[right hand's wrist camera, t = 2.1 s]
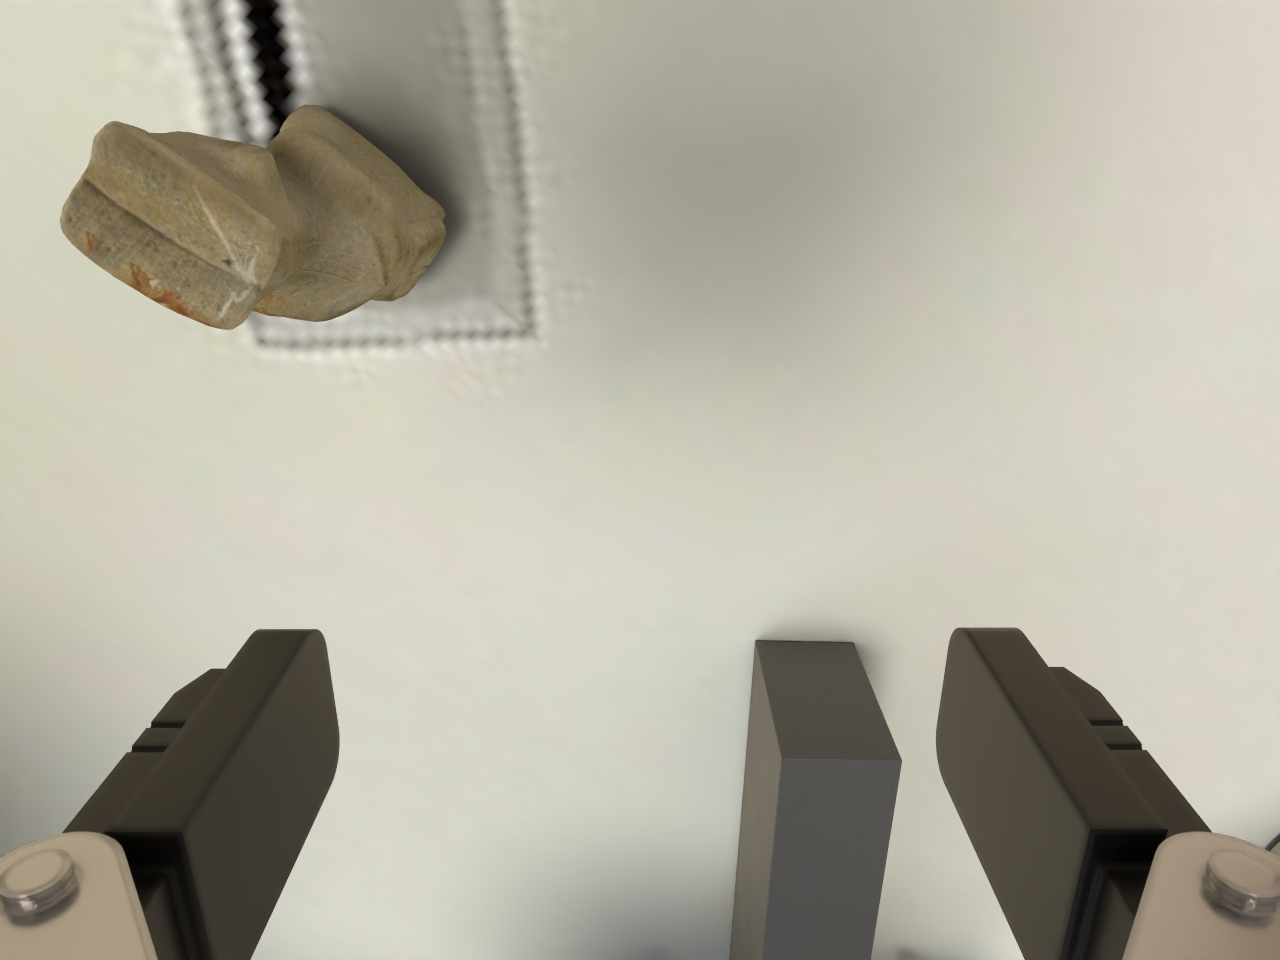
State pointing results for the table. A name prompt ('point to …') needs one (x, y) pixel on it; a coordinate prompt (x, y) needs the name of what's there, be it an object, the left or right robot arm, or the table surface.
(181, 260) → the sculpture
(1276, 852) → the bust sculpture
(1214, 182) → the table surface
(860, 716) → the bar
